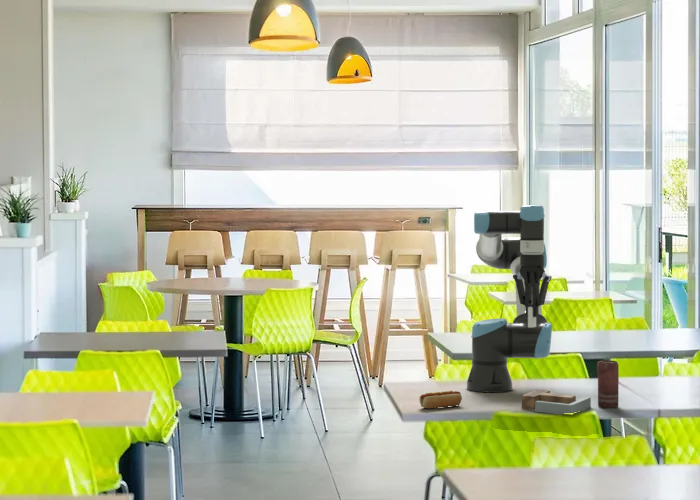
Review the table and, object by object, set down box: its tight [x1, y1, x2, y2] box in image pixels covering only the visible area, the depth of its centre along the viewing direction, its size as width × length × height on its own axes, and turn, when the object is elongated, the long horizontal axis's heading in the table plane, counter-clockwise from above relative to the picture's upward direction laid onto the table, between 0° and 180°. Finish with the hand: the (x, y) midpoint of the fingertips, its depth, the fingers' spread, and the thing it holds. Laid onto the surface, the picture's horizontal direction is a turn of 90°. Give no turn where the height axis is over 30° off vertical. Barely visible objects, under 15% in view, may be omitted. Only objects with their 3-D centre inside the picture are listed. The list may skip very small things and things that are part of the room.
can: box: [596, 359, 620, 409], centre depth 325 cm, size 6×6×14 cm
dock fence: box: [534, 396, 592, 415], centre depth 322 cm, size 12×15×3 cm
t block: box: [521, 389, 577, 411], centre depth 326 cm, size 14×12×4 cm
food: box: [419, 390, 463, 409], centre depth 327 cm, size 14×6×5 cm, turn 116°
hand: (532, 326), depth 342 cm, fingers closed
